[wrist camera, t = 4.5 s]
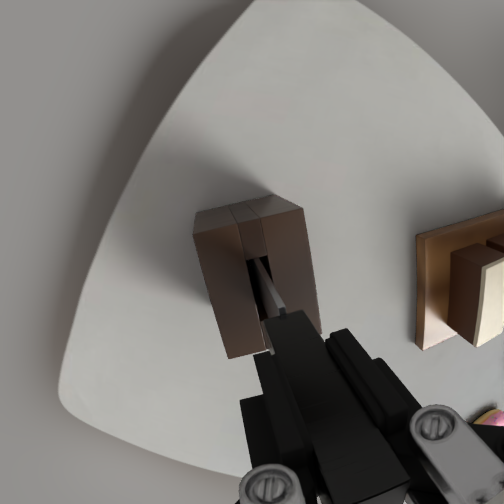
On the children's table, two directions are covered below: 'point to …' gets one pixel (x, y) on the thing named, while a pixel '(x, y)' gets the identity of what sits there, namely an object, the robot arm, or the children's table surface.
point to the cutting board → (444, 272)
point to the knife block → (236, 272)
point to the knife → (330, 410)
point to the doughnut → (491, 418)
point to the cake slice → (476, 293)
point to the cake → (496, 243)
